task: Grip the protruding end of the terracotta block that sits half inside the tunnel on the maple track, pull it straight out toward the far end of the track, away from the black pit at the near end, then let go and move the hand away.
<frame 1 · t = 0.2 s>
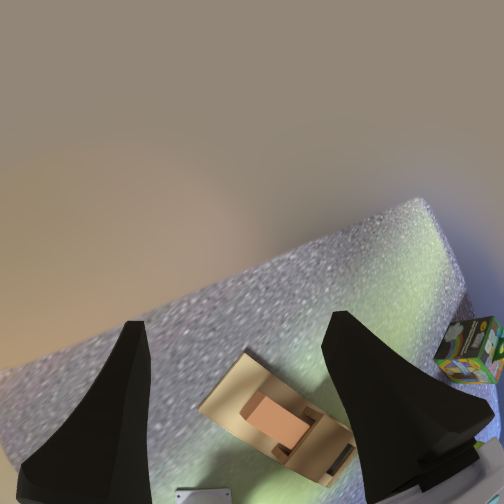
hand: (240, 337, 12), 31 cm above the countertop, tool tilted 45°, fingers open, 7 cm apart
chalk box: (451, 352, 50), on the countertop
tunnel: (301, 436, 40), resting on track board
block: (289, 430, 36), point 3 cm above the countertop, slide at 4.0 cm
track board: (288, 428, 40), on the countertop
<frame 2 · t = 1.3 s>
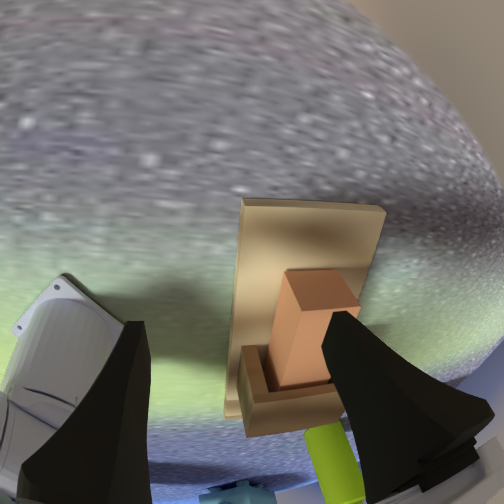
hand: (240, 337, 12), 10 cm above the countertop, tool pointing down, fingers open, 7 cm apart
tunnel: (281, 354, 28), resting on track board
block: (301, 354, 23), point 3 cm above the countertop, slide at 4.0 cm
soap dispenser: (319, 428, 40), on the countertop
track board: (286, 335, 27), on the countertop
teapot: (232, 486, 52), on the countertop
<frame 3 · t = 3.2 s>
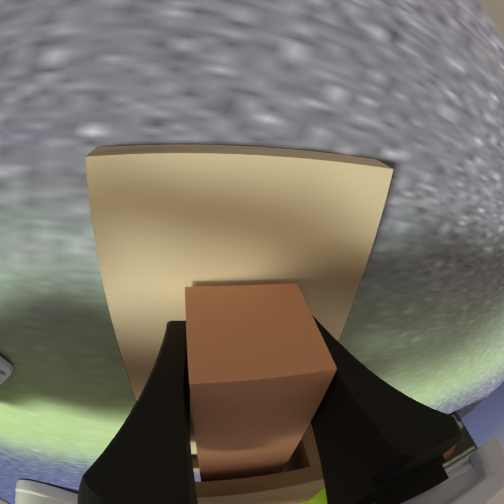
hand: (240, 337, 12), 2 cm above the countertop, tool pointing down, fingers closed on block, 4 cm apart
bottle: (57, 492, 29), on the countertop
chalk box: (419, 433, 34), on the countertop
tunnel: (225, 404, 18), resting on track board
block: (238, 423, 13), point 3 cm above the countertop, slide at 4.0 cm, touching gripper
soap dispenser: (300, 471, 30), on the countertop
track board: (227, 382, 16), on the countertop
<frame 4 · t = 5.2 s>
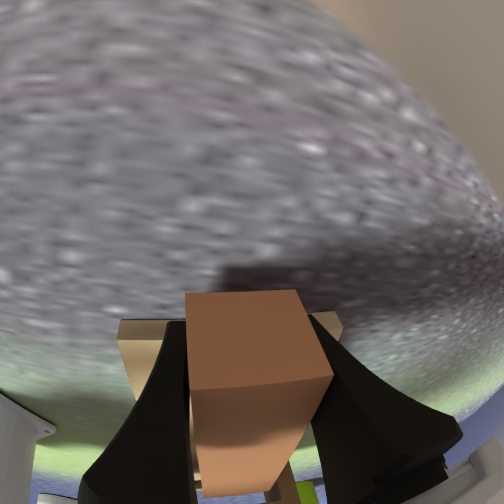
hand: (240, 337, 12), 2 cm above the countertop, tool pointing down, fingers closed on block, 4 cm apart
bottle: (74, 503, 33), on the countertop
tunnel: (222, 447, 22), resting on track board
block: (238, 426, 13), point 3 cm above the countertop, slide at 11.2 cm, touching gripper
soap dispenser: (288, 486, 34), on the countertop
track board: (223, 436, 20), on the countertop
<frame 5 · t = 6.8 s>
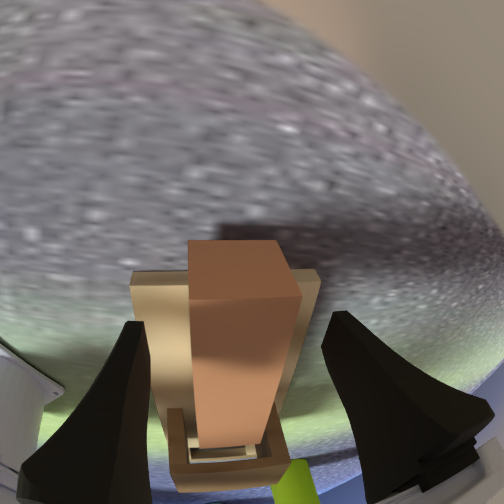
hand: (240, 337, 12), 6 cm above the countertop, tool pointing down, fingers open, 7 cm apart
tunnel: (218, 411, 24), resting on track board
block: (230, 367, 16), point 3 cm above the countertop, slide at 11.2 cm
soap dispenser: (283, 465, 37), on the countertop
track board: (219, 397, 23), on the countertop
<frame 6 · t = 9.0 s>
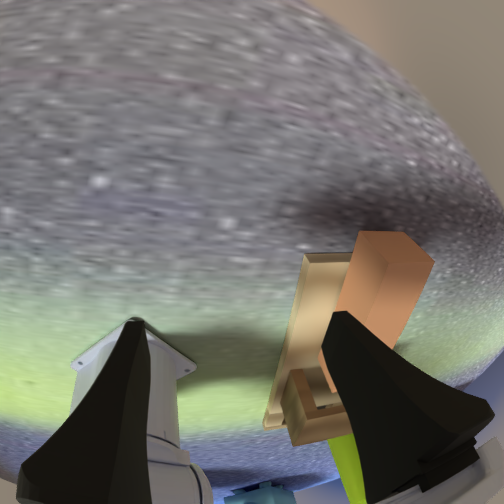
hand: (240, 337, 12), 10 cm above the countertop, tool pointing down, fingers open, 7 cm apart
tunnel: (319, 373, 31), resting on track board
block: (368, 319, 22), point 3 cm above the countertop, slide at 11.2 cm
soap dispenser: (341, 432, 43), on the countertop
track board: (325, 358, 30), on the countertop
teapot: (254, 487, 55), on the countertop
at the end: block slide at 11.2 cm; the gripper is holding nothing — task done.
